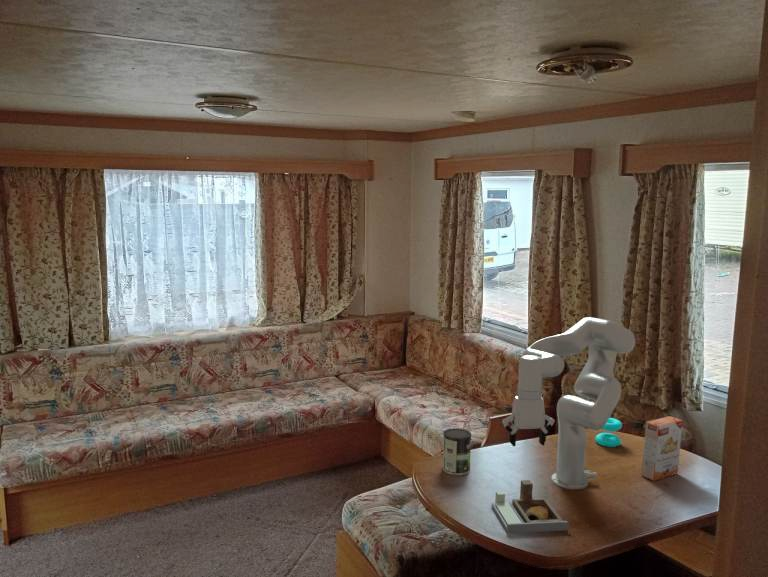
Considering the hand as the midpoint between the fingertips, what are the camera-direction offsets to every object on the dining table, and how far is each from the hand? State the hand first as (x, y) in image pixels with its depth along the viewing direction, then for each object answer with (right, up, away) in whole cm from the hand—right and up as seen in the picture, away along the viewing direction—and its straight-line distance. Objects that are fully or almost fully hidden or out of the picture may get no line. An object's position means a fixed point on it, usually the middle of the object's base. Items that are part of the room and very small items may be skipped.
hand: (527, 444), depth 208 cm
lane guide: (-2, -22, -8) cm, 23 cm away
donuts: (+46, -14, +56) cm, 74 cm away
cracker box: (+55, -18, +26) cm, 63 cm away
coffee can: (-20, -16, +28) cm, 38 cm away
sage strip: (-8, -21, -7) cm, 23 cm away
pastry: (+1, -22, -8) cm, 23 cm away
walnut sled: (+1, -21, -5) cm, 22 cm away
